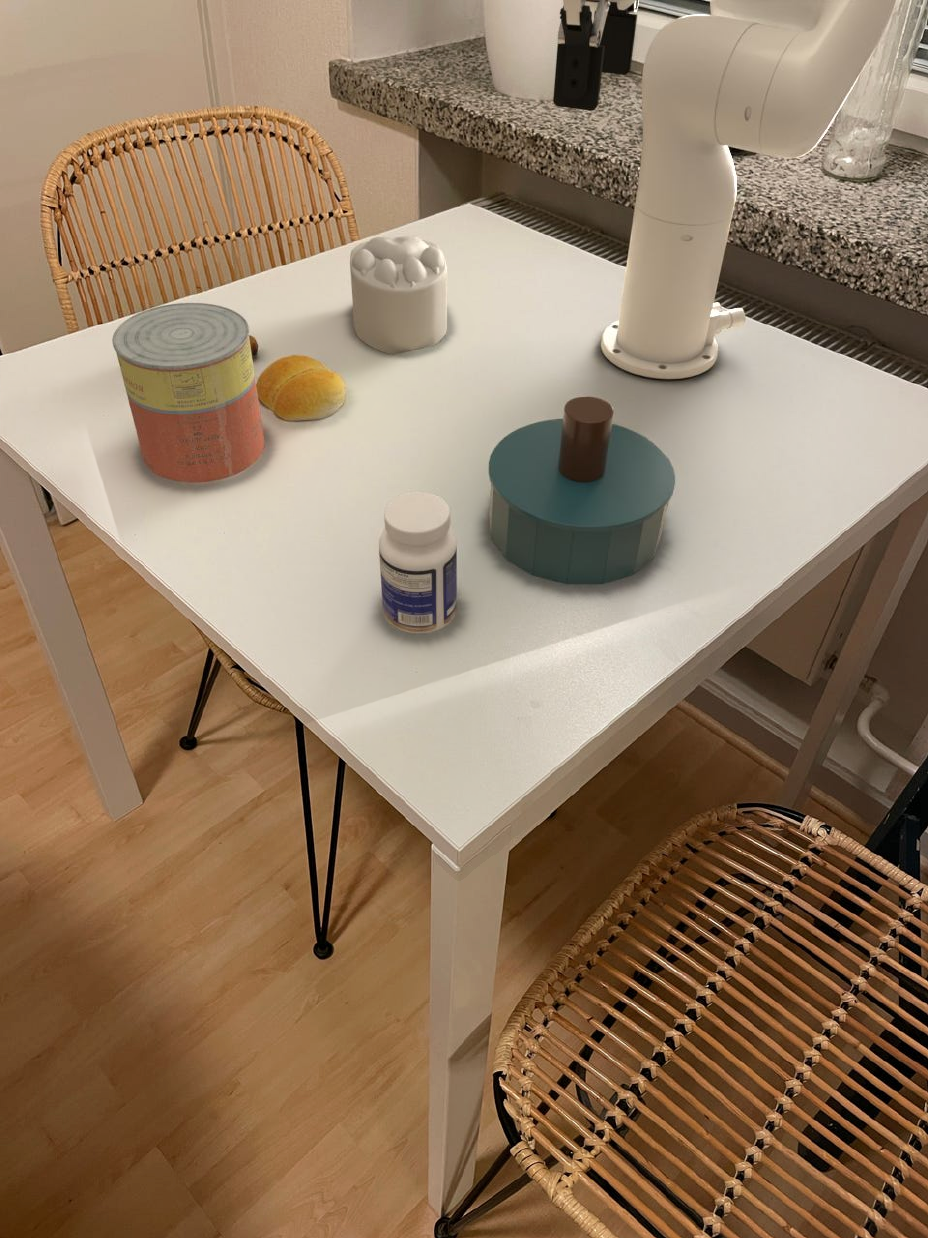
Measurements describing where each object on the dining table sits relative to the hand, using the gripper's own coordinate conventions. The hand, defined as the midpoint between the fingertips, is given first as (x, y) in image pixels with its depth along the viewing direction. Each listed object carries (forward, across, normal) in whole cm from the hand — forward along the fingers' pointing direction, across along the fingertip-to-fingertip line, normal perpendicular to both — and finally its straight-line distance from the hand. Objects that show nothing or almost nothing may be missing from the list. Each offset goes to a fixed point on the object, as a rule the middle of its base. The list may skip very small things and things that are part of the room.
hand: (593, 88), depth 71 cm
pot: (+30, -14, -6) cm, 34 cm away
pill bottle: (+31, -28, +3) cm, 42 cm away
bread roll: (+31, -4, +26) cm, 40 cm away
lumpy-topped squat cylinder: (+31, +14, +23) cm, 40 cm away
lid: (+24, -14, -6) cm, 29 cm away
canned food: (+31, -16, +30) cm, 45 cm away
